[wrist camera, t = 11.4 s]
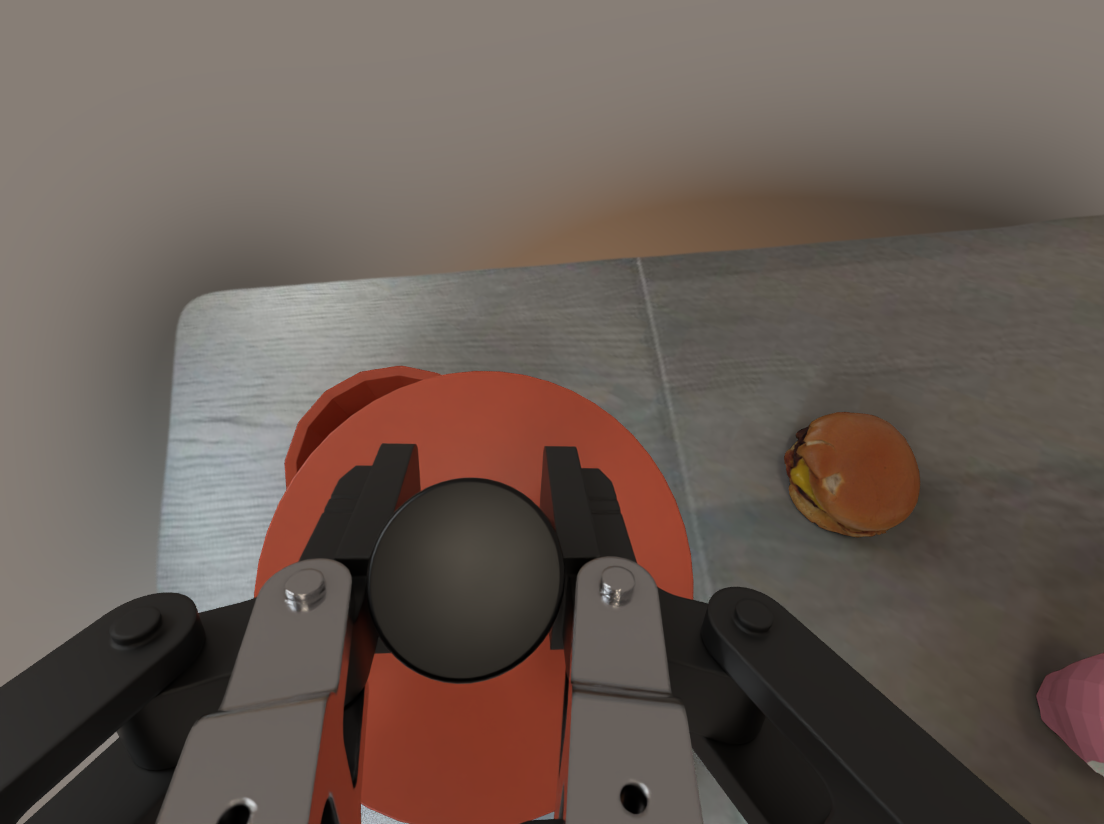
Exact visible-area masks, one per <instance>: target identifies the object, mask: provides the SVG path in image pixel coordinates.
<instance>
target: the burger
mask: <svg viewBox="0 0 1104 824" xmlns="http://www.w3.org/2000/svg"><path fill="white" fill-rule="evenodd" d="M796 437H797V439H798V441H797V442H796V443H795V444H794V445H793V446H792V447H791V449H788V450H787V451H786V453H785V456H784V461H785V464H786V471H787V475H788V477H789V478H790V486H789V491H790V492H789V494H790V496H791V498H792V501H793V503H794V504H795V506H796V507H797V508H798V510H799V511H800V512H801V513H802V514H803V515H804V516H805V517H806V518H807V519H809V520H810V522H812V523H813V522H815V523H816V524H817V525H818V526H819V527H821V528H823V529H826V530H829V531H833V532H838V533H840V534H843V535H848V536H853V537H863V536H869V537H870V536H875V535H876V534H878V535H880V534H881V533H882V534H883V533H886V532H885V531H888V530H889V529H890V528H892V527H894V526H896V525H898V524H899V523H901V522H902V521H904V520H905V519H906V518H907V517H908V516H909V515H910V514H911V512H912V511H913V509H914V507H915V505H916V504H917V501H918V495H919V490H920V476H919V469H918V466H917V462H916V459H915V457H914V454H913V452H912V450H911V448H910V446H909V445H908V443H907V441H906V439H905V438H904V437H903V436H902V435H901V434H900V433H899V432H898V431H897V430H896V429H895V428H894V427H893V426H892V425H891V424H890V423H889V422H887V421H885V420H883V419H881V418H879V417H876V416H873V415H868V414H861V413H849V412H841V413H840V412H837V413H833V414H829V415H825V416H822V417H820V418H818V419H816V420H814V421H813V422H811V424H810V425H809V427H807V428H805V429H801V430H800V431H798V432H797V433H796Z"/></svg>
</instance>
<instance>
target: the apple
mask: <svg viewBox="0 0 1104 824" xmlns="http://www.w3.org/2000/svg"><path fill="white" fill-rule="evenodd" d="M1036 697H1037V701H1038V704H1039V708H1040V713H1041V719H1042V720H1043V722H1044V723H1045V724H1046V725H1047V726H1048V727H1049V728H1050V729H1052V730H1053V731H1054V732H1055V733H1056V734H1057V735H1059V736H1060V737H1061V739H1062V740H1063V741H1064V742H1065V743H1066V744H1067V745H1068V746H1069V747H1070V748H1071V749H1072V750H1073V751H1074V752H1075V753H1076V754H1077V755H1078V756H1079V757H1080V758H1082V759H1083V760H1084V761H1085V762H1086V763H1087V764H1088V765H1089V766H1090V767H1091V768H1092V769H1093V770H1094V771H1095V772H1096V773H1099V774H1101V775H1102V776H1103V777H1104V653H1102V654H1099V655H1095V656H1092V657H1089V658H1086V659H1082V660H1080V661H1077V662H1075V663H1072V664H1070V665H1068V666H1067V667H1065V668H1063V669H1061V670H1059V671H1055V672H1052V673H1050V674H1048V675H1046V676H1045V678H1044V680H1043V682H1042V684H1041V686H1040V689H1039V691H1038V693H1037V695H1036Z"/></svg>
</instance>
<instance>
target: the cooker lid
mask: <svg viewBox="0 0 1104 824" xmlns="http://www.w3.org/2000/svg"><path fill="white" fill-rule="evenodd" d="M382 443H399V444H417V447H418V455H419V470H420V485H421V491H420V492H418V493H416V494H415V495H414V496H412V497H411V498H409V499H408V500H407V501H406V502H404V503H403V504H402V505H401V506H400V507H399V508H398V509H397V510H396V511H395V512H394V513H393V515H392V516H391V517H390V518H389V519H388V521H387V522H386V524H385V525H384V527H383V528H382V530H381V531H380V533H379V535H378V538H377V540H376V542H375V544H374V546H373V549H372V552H371V555H370V559H369V564H368V568H367V578H366V595H367V603H368V608H369V613H370V616H371V619H372V622H373V625H374V627H375V629H376V631H377V633H378V635H379V637H380V639H381V640H382V642H383V643H384V645H385V646H386V648H387V649H388V650H389V651H390V652H391V653H382V654H374V658H373V662H372V665H371V669H370V673H369V677H368V684H369V696H368V710H367V723H366V736H365V750H364V763H363V777H362V790H361V804H362V805H364V806H366V807H367V808H369V809H371V810H374V811H376V812H378V813H381V814H383V815H385V816H388V817H390V818H392V819H395V820H397V821H400V822H404V823H408V824H520V823H523V822H526V821H531V820H533V819H536V818H538V817H541V816H543V815H546V814H548V813H551V812H554V811H555V803H556V791H557V777H558V762H559V747H560V732H561V717H562V702H563V687H564V678H565V670H566V665H565V656H564V649H561V650H550V640H549V632H550V630H551V628H552V626H553V624H554V622H555V620H556V618H557V615H558V612H559V609H560V607H561V602H562V598H563V594H564V584H565V565H564V558H563V553H562V549H561V545H560V542H559V539H558V537H557V535H556V532H555V530H554V528H553V526H552V525H551V523H550V521H549V519H548V518H547V517H546V515H545V514H544V513H543V511H542V510H541V509H540V492H541V478H542V463H543V451H544V446H576V448H577V451H578V455H579V460H580V464H581V468H599V469H600V470H601V471H602V472H603V473H604V474H605V475H606V476H607V477H608V478H609V479H610V480H611V481H612V483H613V486H614V490H615V493H616V496H617V501H618V503H619V506H620V509H621V514H622V515H623V519H624V522H625V525H626V528H627V532H628V535H629V538H630V541H631V545H632V548H633V551H634V554H635V557H636V561H637V564H639V565H640V566H642V567H643V568H644V569H646V570H647V571H648V572H649V573H650V574H651V576H652V577H653V579H654V580H655V582H656V585H657V587H659V588H661V589H662V590H664V591H666V592H668V593H671V594H673V595H676V596H680V597H683V598H687V599H691V600H693V572H692V562H691V553H690V548H689V544H688V539H687V535H686V530H685V526H684V523H683V520H682V517H681V514H680V512H679V509H678V506H677V503H676V500H675V498H674V496H673V494H672V492H671V490H670V488H669V486H668V484H667V482H666V480H665V478H664V476H663V475H662V473H661V472H660V470H659V469H658V467H657V465H656V464H655V462H654V461H653V459H652V458H651V456H650V455H649V454H648V452H647V451H646V450H645V449H644V448H643V446H642V445H641V444H640V443H639V442H638V440H637V439H636V438H635V437H634V436H633V435H632V434H631V433H630V432H629V431H628V430H627V429H626V428H625V427H624V426H623V425H622V424H621V423H619V422H618V421H617V420H616V419H615V418H614V417H613V416H611V415H610V414H608V413H607V412H606V411H604V410H603V409H602V408H600V407H599V406H597V405H596V404H595V403H593V402H591V401H589V400H588V399H586V398H584V397H582V396H580V395H579V394H577V393H575V392H573V391H571V390H569V389H566V388H564V387H561V386H559V385H556V384H554V383H551V382H549V381H545V380H541V379H538V378H534V377H530V376H526V375H520V374H513V373H506V372H493V371H471V372H462V373H452V374H446V375H442V376H437V377H433V378H428V379H424V380H421V381H418V382H415V383H413V384H410V385H407V386H404V387H401V388H399V389H397V390H395V391H393V392H391V393H389V394H387V395H385V396H383V397H381V398H379V399H377V400H375V401H373V402H372V403H370V404H368V405H367V406H365V407H364V408H362V409H361V410H359V411H358V412H356V413H355V414H353V415H352V416H351V417H349V418H348V419H347V420H346V421H345V422H343V423H342V424H341V425H340V426H339V427H337V428H336V429H335V430H334V431H333V432H331V433H330V434H329V435H328V436H327V437H326V439H325V440H324V441H323V442H322V443H321V444H320V445H319V446H318V447H317V448H316V449H315V450H314V451H313V452H312V453H311V455H310V456H309V457H308V459H307V460H306V461H305V463H304V464H303V465H302V467H301V468H300V469H299V471H298V472H297V474H296V475H295V476H294V478H293V479H292V481H291V483H290V485H289V486H288V488H287V490H286V492H285V493H284V495H283V497H282V499H281V501H280V502H279V504H278V506H277V509H276V511H275V514H274V516H273V519H272V521H271V523H270V526H269V528H268V531H267V534H266V537H265V541H264V544H263V548H262V552H261V555H260V559H259V563H258V570H257V577H256V584H255V591H254V598H256V597H257V596H258V593H259V591H260V589H261V588H262V586H263V585H264V583H265V582H266V581H267V580H268V579H269V578H270V577H272V576H273V575H274V574H275V573H277V572H278V571H280V570H281V569H283V568H285V567H287V566H289V565H291V564H294V563H296V562H298V561H299V559H300V557H301V555H302V553H303V551H304V549H305V547H306V545H307V543H308V541H309V539H310V537H311V535H312V533H313V531H314V529H315V527H316V525H317V523H318V521H319V519H320V517H321V514H322V513H324V508H325V506H326V504H327V502H328V500H329V499H331V494H332V492H333V490H334V488H335V486H336V484H337V482H338V480H339V479H340V478H341V477H342V476H344V475H345V474H346V473H347V472H348V471H350V470H351V469H352V468H353V467H355V466H356V465H369V466H372V465H373V462H374V460H375V457H376V455H377V453H378V450H379V448H380V446H381V444H382Z"/></svg>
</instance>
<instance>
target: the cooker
mask: <svg viewBox="0 0 1104 824" xmlns="http://www.w3.org/2000/svg"><path fill="white" fill-rule="evenodd" d="M437 376H442V375H440V374H438V373H435V372H430V371H425V370H420V369H415V368H410V367H406V366H395V367H388V368H382V369H375V370H369V371H363V372H359V373H357V374H356V375H354V376H352V377H350V378H348V379H347V380H345V381H343V382H341V383H339V384H337V385H336V386H334V387H332V388H330V389H328V390H327V391H325V392H324V393H323V394H322V395H321V397H320V398H319V399H318V400H317V401H316V402H315V404H314V405H313V406H312V407H311V408H310V409H309V410H308V412H307V413H306V414H305V415H304V416H303V417H302V419H301V420H300V421H299V422H298V424H297V427H296V430H295V433H294V436H293V439H292V442H291V444H290V447H289V450H288V453H287V456H286V459H285V463H284V464H285V477H286V490H287V488H288V486H289V485H290V483H291V481H292V479H293V478H294V476H295V475H296V474H297V472H298V471H299V469H300V468H301V467H302V465H303V464H304V463H305V461H306V460H307V459H308V457H309V456H310V455H311V453H312V452H313V451H314V450H315V449H316V448H317V447H318V446H319V445H320V444H321V443H322V442H323V441H324V440H325V439H326V437H327V436H328V435H329V434H330V433H331V432H333V431H334V430H335V429H336V428H337V427H339V426H340V425H341V424H342V423H343V422H345V421H346V420H347V419H348V418H349V417H351V416H352V415H353V414H355V413H356V412H358V411H359V410H361V409H362V408H364V407H365V406H367V405H368V404H370V403H372V402H373V401H375V400H377V399H379V398H381V397H383V396H385V395H387V394H389V393H391V392H393V391H395V390H397V389H399V388H401V387H404V386H407V385H410V384H413V383H415V382H418V381H421V380H424V379H428V378H433V377H437Z"/></svg>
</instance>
